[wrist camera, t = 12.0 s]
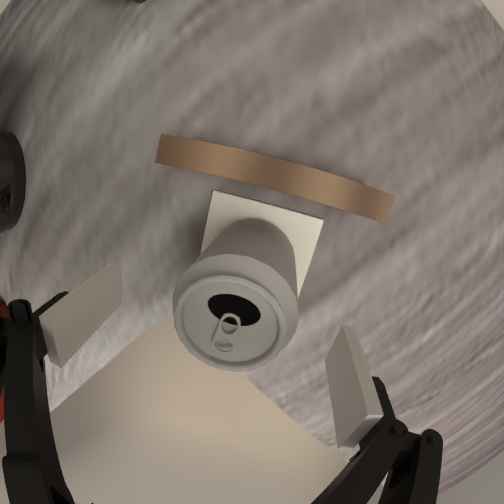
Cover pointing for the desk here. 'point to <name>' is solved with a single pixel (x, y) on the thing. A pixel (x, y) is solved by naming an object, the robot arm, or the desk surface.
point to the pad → (288, 221)
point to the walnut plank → (275, 175)
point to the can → (239, 298)
